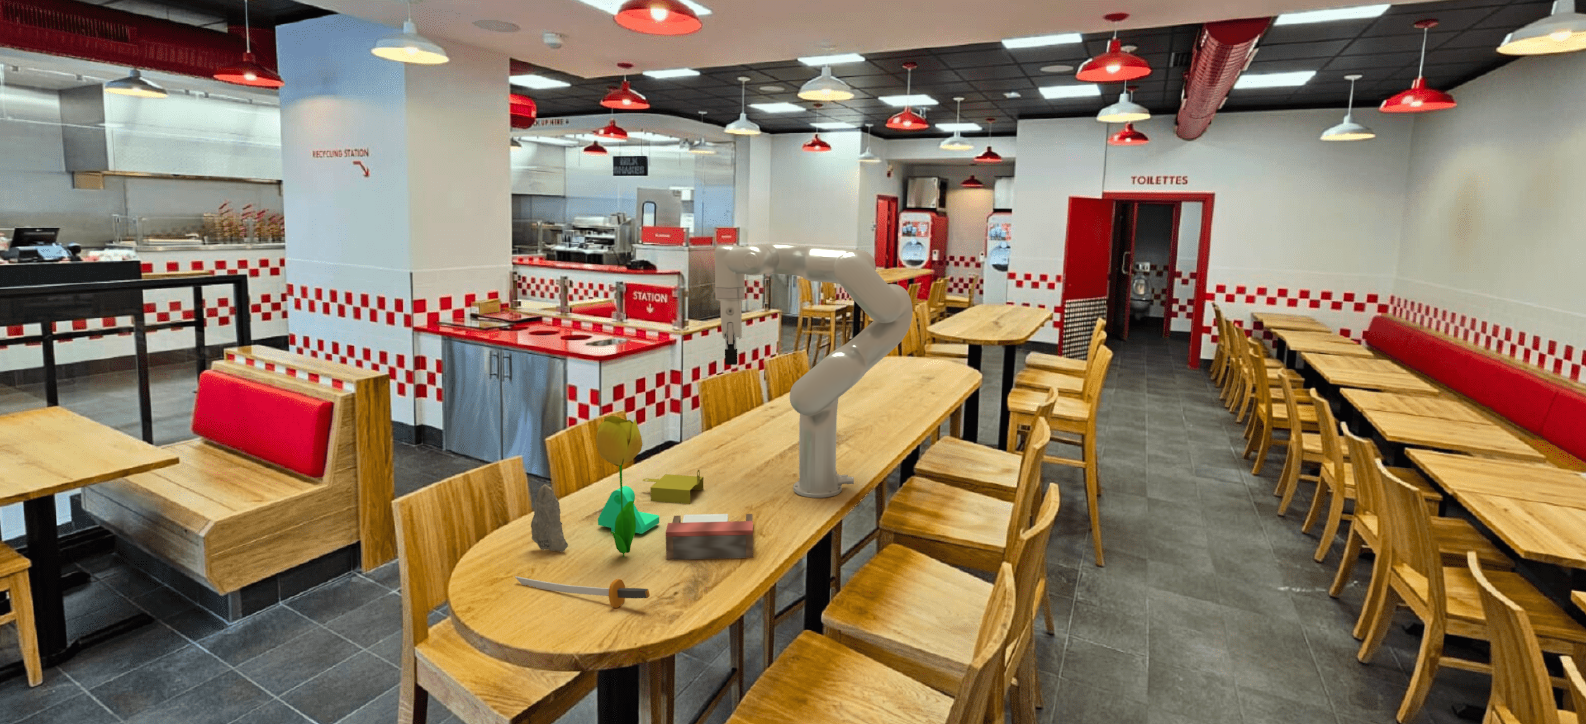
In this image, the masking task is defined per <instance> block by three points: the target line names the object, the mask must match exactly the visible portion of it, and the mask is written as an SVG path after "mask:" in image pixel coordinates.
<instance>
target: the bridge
mask: <svg viewBox="0 0 1586 724" xmlns="http://www.w3.org/2000/svg"><path fill="white" fill-rule="evenodd" d="M681 519H682V518H681V515H673V518H672V522H667V526H666V529H665V549H666V550H665V553H666V554H665V555H666V556H665V558H666V559H665V560H675V561H676V560H680V561H681V560H705V559H706V560H710V559H711V560H713V559H714V560H715V559H717V560H719V559H746V558H754V524H753V522H754V521H753V519H754V518H753V513H746V514H745V520H744V521H742V520H740V521H738V520H737V521H736V520H733V521H732V520H731V521H728V522H688V523H682V522H681V521H682V520H681Z"/></svg>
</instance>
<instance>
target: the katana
mask: <svg viewBox="0 0 1586 724" xmlns="http://www.w3.org/2000/svg"><path fill="white" fill-rule="evenodd" d="M514 577H515V579H516V580H517V581H518V582H519V584H521V585H523V586H526V585H529V586H528V587H531V586H533V587H532V588H535V587H536V588H535V589H541V590H546V591H552V592H559V593H567V594H575V595H576V594H577V595H578V594H579V595H590V596H591V595H593V596H603V597H608V600H609V604H610V606H611V607H612V608H614V609H618V608H620V607H621V606H622V605H623V604H624V603H625V601H626V599H649V597H650V596H651V594H650V590H649V589H648V588H640V587H626V585H625V582H624V581H623V579H621V578H620V579H619V578H615V579H614V580H612V582H611V583H610V585H609V588H608V587H595V586H585V585H584V586H582V585H569V584H564V583H563V584H562V583H557V582H556V583H555V582H550V581H548V582H547V581H545V580H544V581H542V580H537V579H532V578H531V579H530V578H526V577H521V576H516V575H515V576H514ZM621 604H622V605H621ZM620 605H621V606H620ZM619 606H620V607H619Z"/></svg>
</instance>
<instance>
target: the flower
mask: <svg viewBox="0 0 1586 724" xmlns="http://www.w3.org/2000/svg"><path fill="white" fill-rule="evenodd" d="M596 433H597V434H596V437H595V438H596V447H597V451H598V454H599V456H600V457H601V459H603V460H605V461H606V462H608V463H611V464H612V465H614V466H617V467H618V468H619V469H618V472H619V488H620V492H621V511H620V512H619V514H618V516H617V518H616V521H615V532H612V531H610V535H611V534H612V537H613V540H614V545H615V548H616V549H617V551H618V552H619V553H621V554H622V557H623V558H625V556H626V555H625V554H627V553H628V554H629V553H631V547H632V543H633V539H634V537H635V534H636V533H635V530H636V519H635V513H634V505H633V503H634V504H635V500H634V501H629V502H628V503H627V504H626V505H625V506H624V508H623V497H622V487H623V465H625V464H627V463H629V462H631V461H633V460H634V459H635V458H636V457H637V456H638V455H639V454H640V453H641V452H642V447H643V439H642V435H641V432H640V429H639V425H638V422H637V419H636V418H634V420H631V419H624V418H621V417H620V416H616V415H610V416H609V415H608V416H607V417H605V418H604V419H603V421H602V422H601V423H600V424H599V425H598V428H597V431H596Z"/></svg>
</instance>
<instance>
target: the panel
mask: <svg viewBox="0 0 1586 724" xmlns="http://www.w3.org/2000/svg"><path fill="white" fill-rule="evenodd" d="M688 522H729V514H728V513H712V514H711V513H706V514H705V513H701V514H683V518H682V522H681V523H688Z"/></svg>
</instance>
